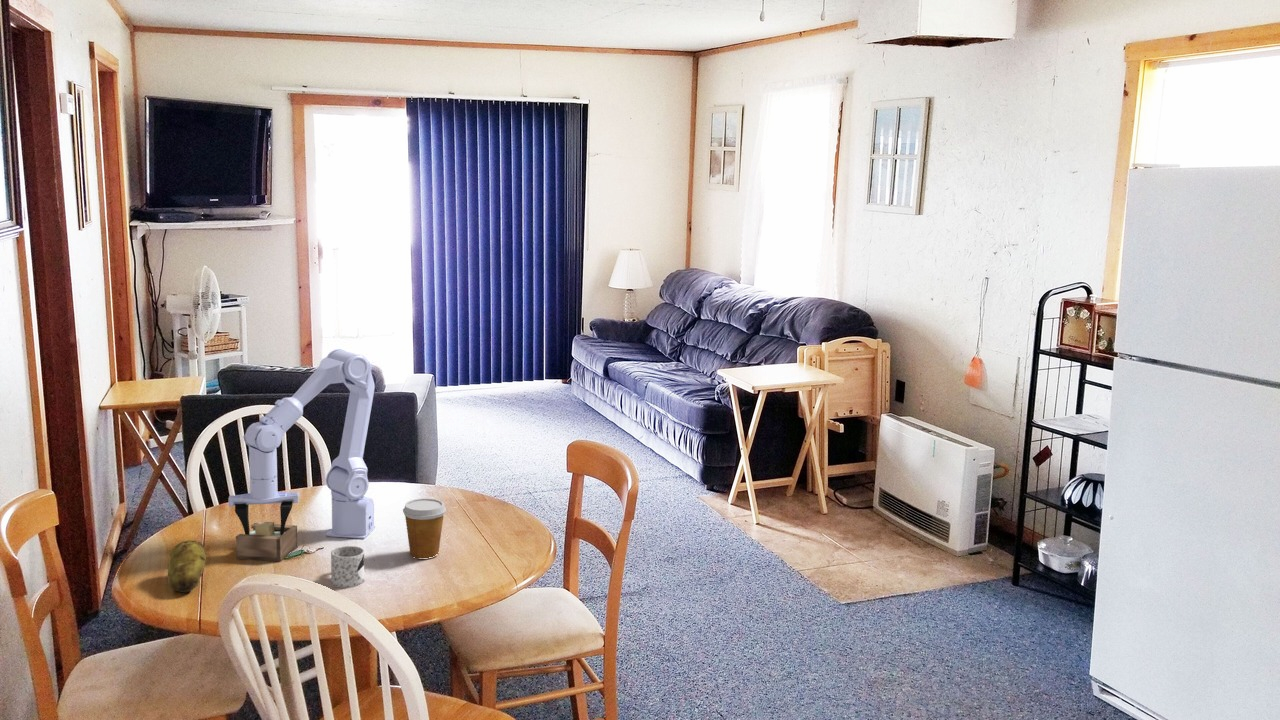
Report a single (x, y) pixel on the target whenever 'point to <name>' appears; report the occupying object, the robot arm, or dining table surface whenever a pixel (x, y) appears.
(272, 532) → the cover plate
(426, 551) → the disposable coffee cup
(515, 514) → the dining table surface
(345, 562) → the mug
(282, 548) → the walnut box
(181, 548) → the potato
